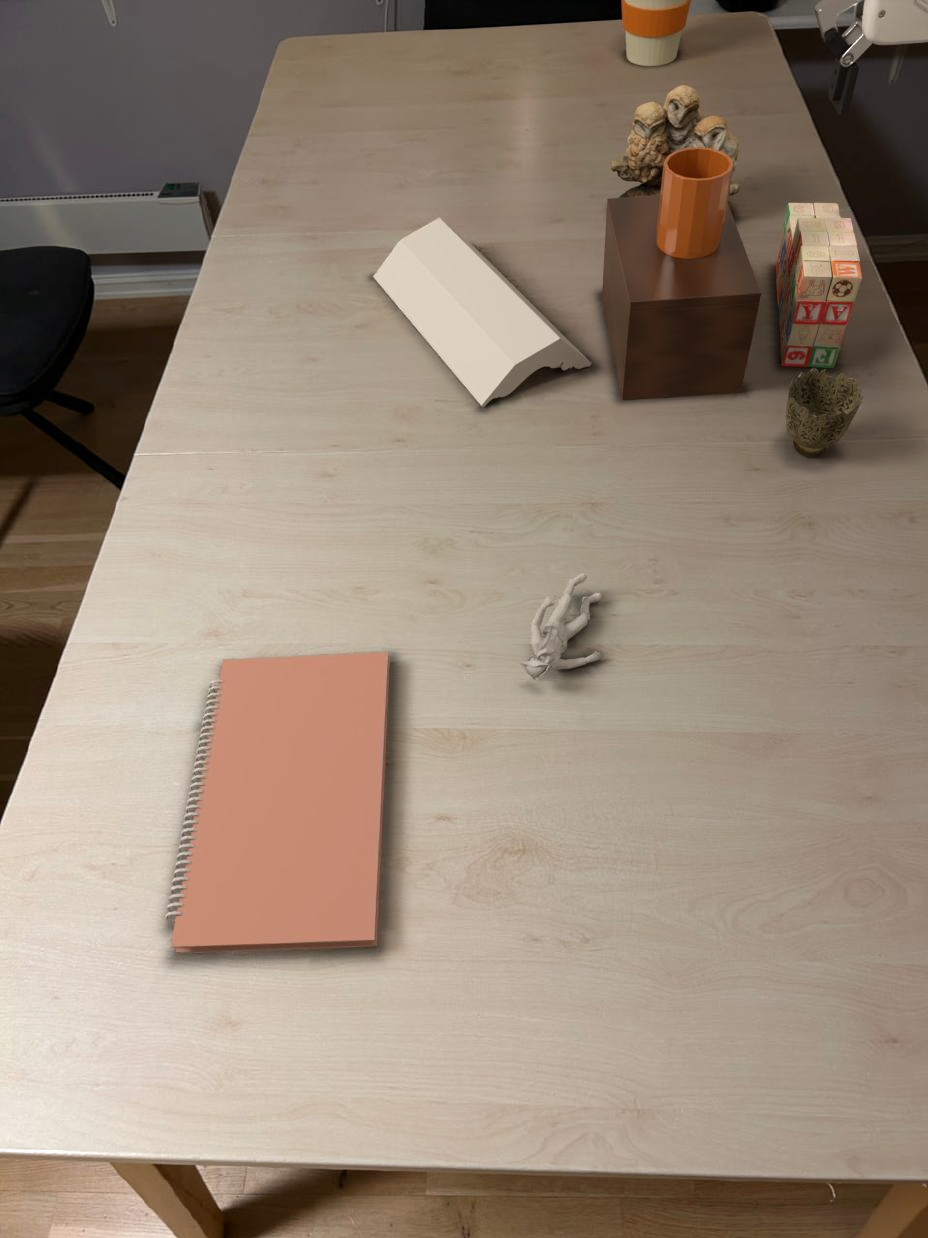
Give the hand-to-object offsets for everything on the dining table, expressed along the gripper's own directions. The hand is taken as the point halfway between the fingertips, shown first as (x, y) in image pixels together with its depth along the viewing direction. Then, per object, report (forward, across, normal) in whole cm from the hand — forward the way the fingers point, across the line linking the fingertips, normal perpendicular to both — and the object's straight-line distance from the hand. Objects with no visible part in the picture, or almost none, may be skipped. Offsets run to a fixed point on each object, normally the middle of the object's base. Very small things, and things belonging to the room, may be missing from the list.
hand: (893, 103), depth 84 cm
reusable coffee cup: (+32, -5, +97) cm, 102 cm away
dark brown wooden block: (+32, -15, +12) cm, 38 cm away
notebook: (+32, -57, -49) cm, 82 cm away
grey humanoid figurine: (+32, -32, -34) cm, 57 cm away
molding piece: (+32, -39, +19) cm, 54 cm away
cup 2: (+32, -3, -9) cm, 34 cm away
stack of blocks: (+32, +2, +15) cm, 36 cm away
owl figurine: (+32, -10, +42) cm, 54 cm away
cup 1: (+19, -14, +12) cm, 27 cm away
